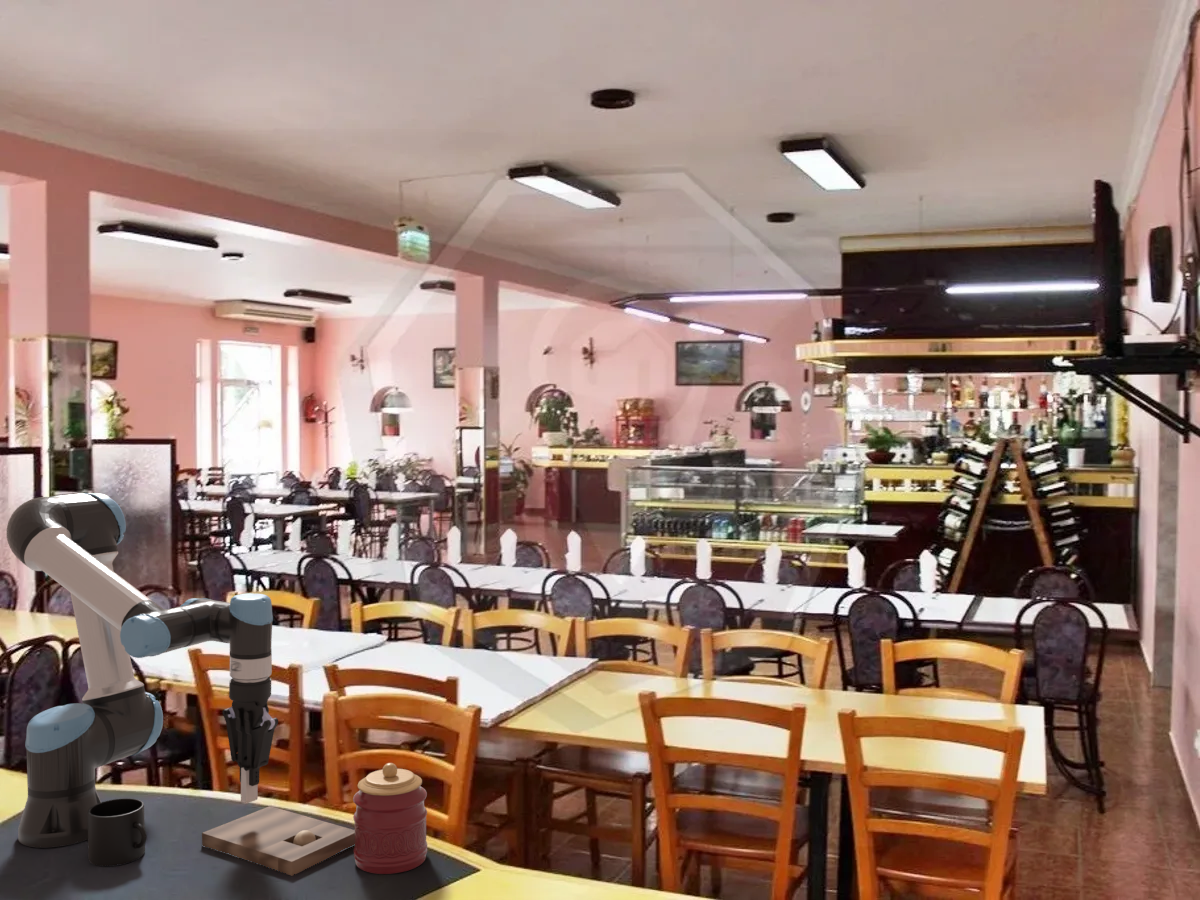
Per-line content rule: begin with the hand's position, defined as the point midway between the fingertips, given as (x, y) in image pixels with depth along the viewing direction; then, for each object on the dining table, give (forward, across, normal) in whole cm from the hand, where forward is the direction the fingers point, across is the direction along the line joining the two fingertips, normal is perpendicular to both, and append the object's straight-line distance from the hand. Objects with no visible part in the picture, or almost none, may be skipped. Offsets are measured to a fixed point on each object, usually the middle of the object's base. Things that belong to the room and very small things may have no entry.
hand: (249, 800), depth 208 cm
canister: (+6, +30, +6) cm, 31 cm away
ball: (+5, +14, +1) cm, 15 cm away
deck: (+7, +8, 0) cm, 11 cm away
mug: (+8, -12, -18) cm, 23 cm away
